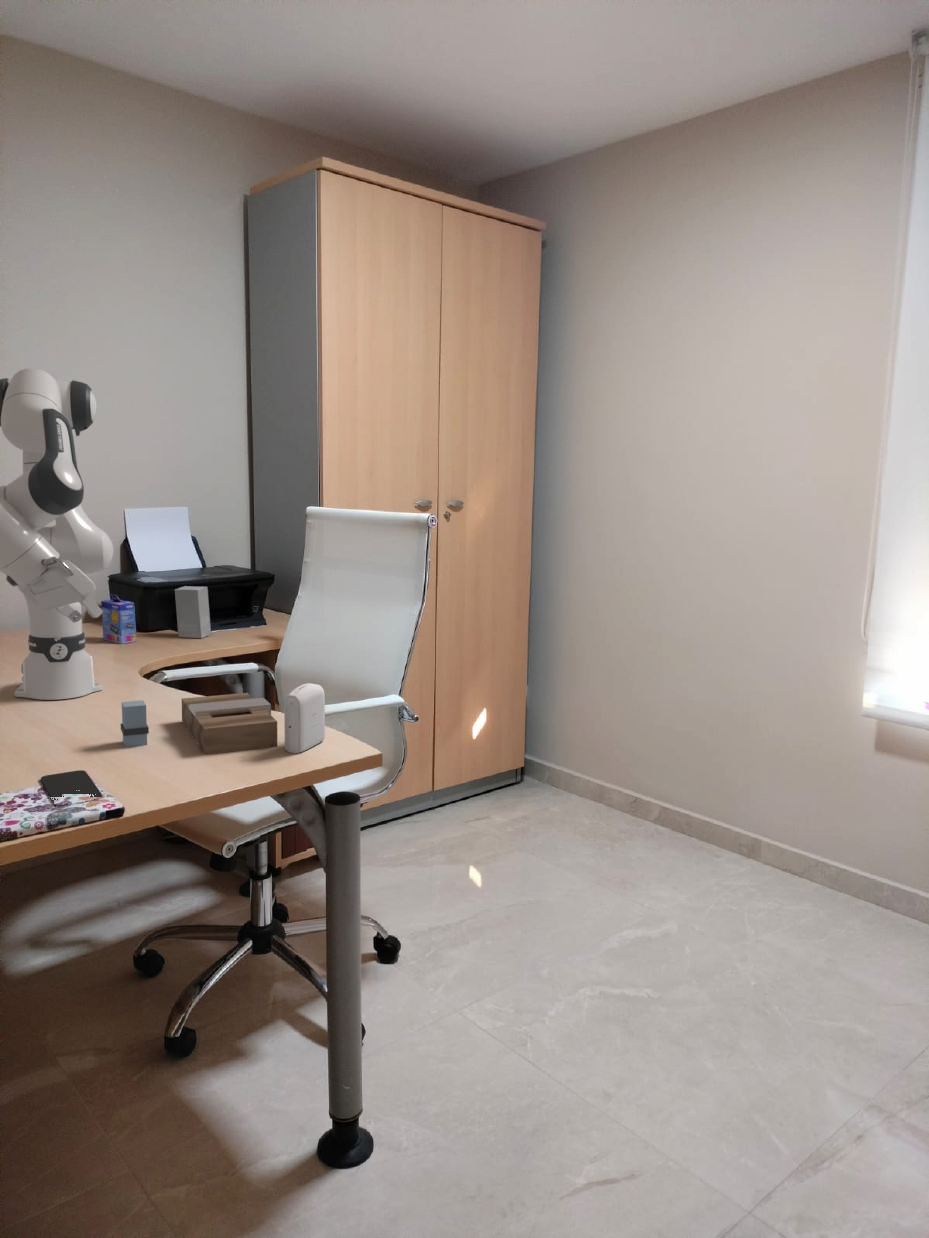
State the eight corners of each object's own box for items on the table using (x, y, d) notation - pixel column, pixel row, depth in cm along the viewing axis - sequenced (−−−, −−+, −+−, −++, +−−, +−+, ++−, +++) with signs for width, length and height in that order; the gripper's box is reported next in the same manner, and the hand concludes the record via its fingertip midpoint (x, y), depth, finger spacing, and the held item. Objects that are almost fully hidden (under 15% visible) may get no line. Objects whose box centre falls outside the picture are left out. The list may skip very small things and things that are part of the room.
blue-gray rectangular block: (121, 741, 178) (119, 701, 176) (145, 738, 180) (144, 699, 178) (124, 747, 174) (122, 707, 172) (149, 745, 176) (147, 705, 174)
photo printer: (300, 755, 172) (300, 692, 170) (281, 751, 174) (281, 689, 172) (327, 740, 182) (328, 680, 180) (309, 737, 183) (309, 678, 181)
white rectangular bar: (189, 723, 184) (189, 704, 183) (263, 716, 191) (263, 697, 190) (195, 731, 179) (194, 711, 178) (271, 723, 185) (271, 704, 185)
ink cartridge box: (101, 640, 275) (99, 593, 273) (117, 637, 279) (116, 591, 277) (120, 644, 269) (119, 596, 267) (137, 641, 274) (135, 594, 271)
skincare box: (211, 635, 287) (210, 586, 284) (199, 639, 280) (198, 589, 277) (187, 633, 289) (186, 584, 286) (175, 637, 282) (174, 587, 279)
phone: (55, 805, 143) (39, 776, 155) (55, 810, 143) (39, 780, 156) (104, 796, 147) (84, 769, 160) (104, 801, 147) (85, 773, 160)
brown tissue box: (182, 721, 192) (181, 698, 191) (247, 714, 198) (247, 692, 198) (204, 754, 171) (204, 728, 170) (277, 745, 177) (277, 721, 177)
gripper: (68, 544, 160) (123, 600, 166) (27, 559, 174) (79, 611, 180) (42, 567, 156) (99, 624, 162) (2, 581, 171) (56, 633, 177)
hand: (88, 617), depth 171 cm, fingers open, 8 cm apart
